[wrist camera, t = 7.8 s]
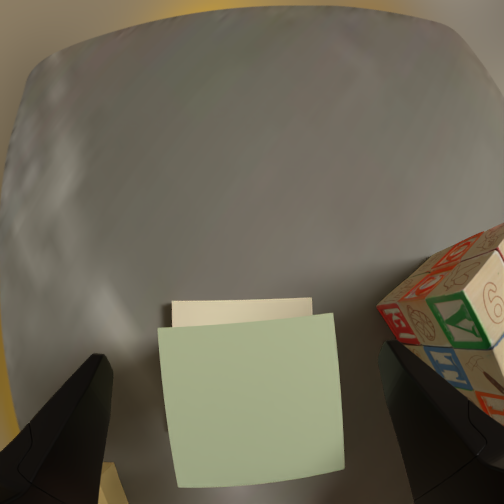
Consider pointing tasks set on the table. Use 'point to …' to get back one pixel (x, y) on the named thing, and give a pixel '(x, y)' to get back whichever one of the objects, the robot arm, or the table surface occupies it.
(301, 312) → the cream square slab
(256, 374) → the sage brick
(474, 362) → the stack of blocks
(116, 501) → the ochre brick
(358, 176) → the table surface
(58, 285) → the table surface
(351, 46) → the table surface
